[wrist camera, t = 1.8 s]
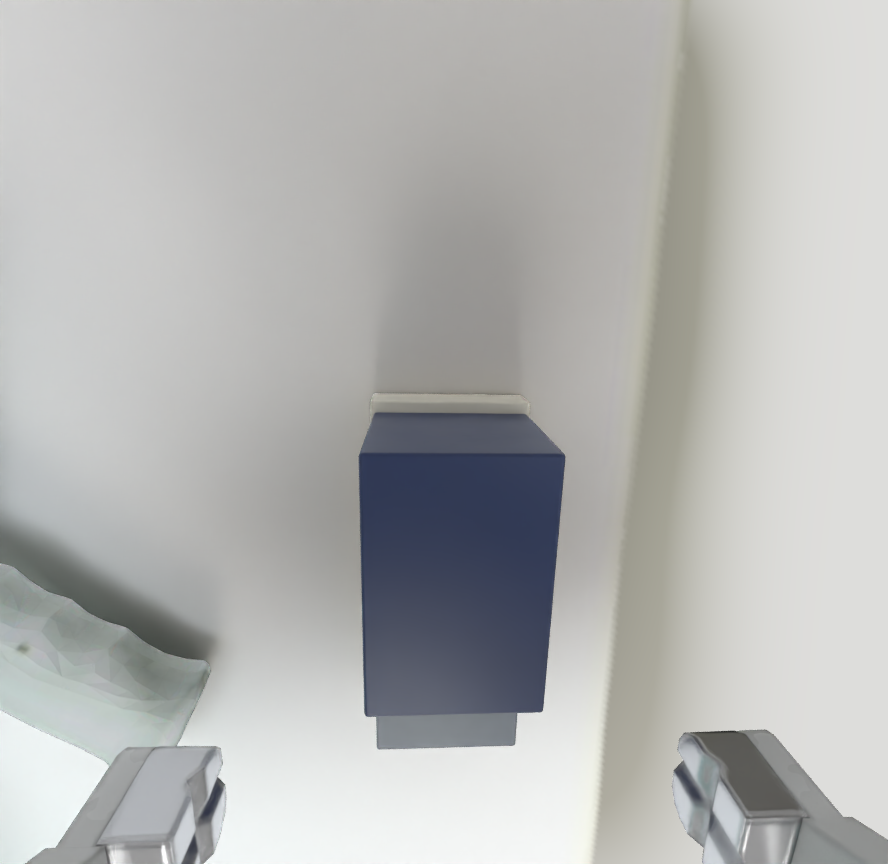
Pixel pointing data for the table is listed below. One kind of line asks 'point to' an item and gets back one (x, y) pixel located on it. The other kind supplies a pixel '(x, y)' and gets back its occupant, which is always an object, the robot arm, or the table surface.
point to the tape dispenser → (88, 674)
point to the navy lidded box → (456, 566)
